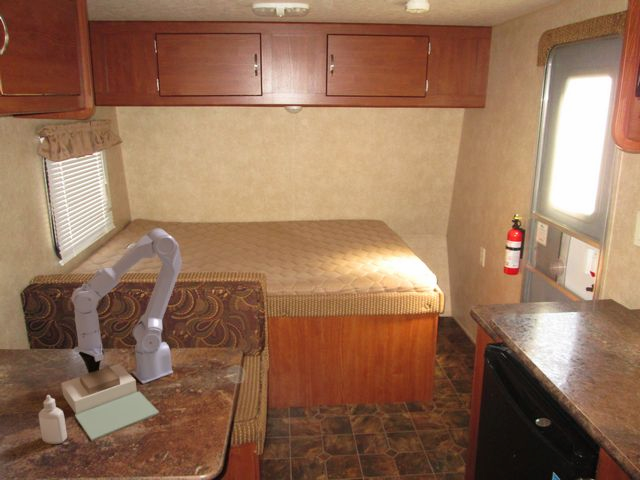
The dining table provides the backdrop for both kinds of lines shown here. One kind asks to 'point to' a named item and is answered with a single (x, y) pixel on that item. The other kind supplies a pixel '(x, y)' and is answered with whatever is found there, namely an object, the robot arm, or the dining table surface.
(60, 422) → the eye dropper bottle
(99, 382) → the walnut tile
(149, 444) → the dining table surface
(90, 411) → the mat
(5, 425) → the dining table surface
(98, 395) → the cream flat block
